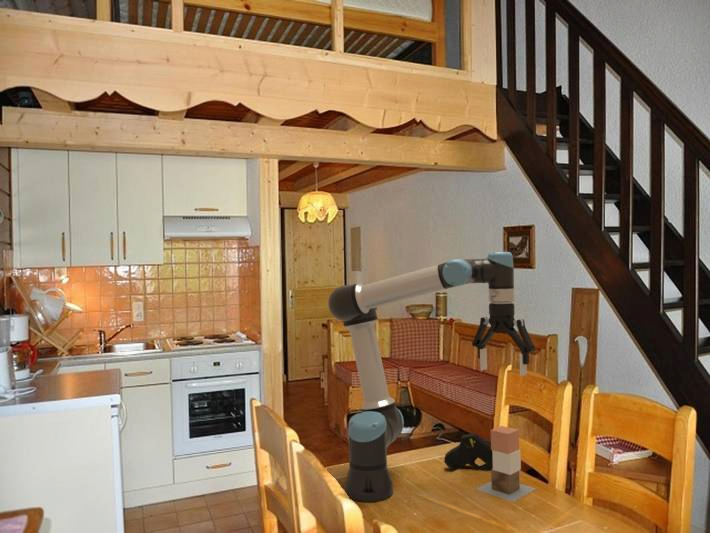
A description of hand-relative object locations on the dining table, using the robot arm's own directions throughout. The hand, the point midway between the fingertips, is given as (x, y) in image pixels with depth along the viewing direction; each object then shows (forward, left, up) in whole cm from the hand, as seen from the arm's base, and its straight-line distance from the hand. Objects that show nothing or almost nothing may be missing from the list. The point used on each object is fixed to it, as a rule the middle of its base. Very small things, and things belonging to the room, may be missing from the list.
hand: (503, 372), depth 167 cm
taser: (-16, +9, -37) cm, 41 cm away
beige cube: (+1, 0, -29) cm, 30 cm away
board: (0, 0, -37) cm, 37 cm away
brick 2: (0, 0, -36) cm, 36 cm away
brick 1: (0, 0, -24) cm, 24 cm away
